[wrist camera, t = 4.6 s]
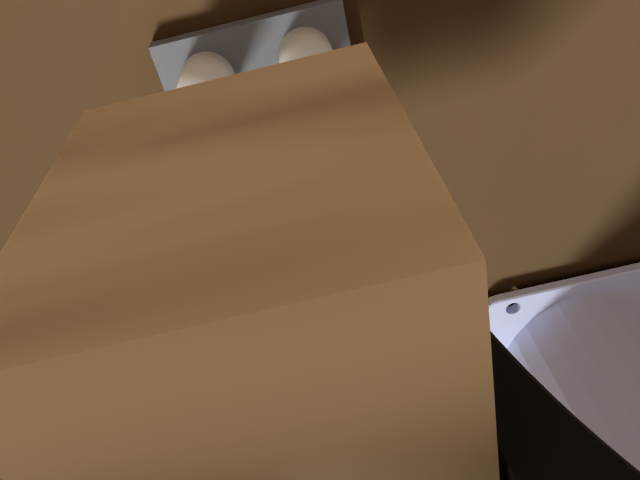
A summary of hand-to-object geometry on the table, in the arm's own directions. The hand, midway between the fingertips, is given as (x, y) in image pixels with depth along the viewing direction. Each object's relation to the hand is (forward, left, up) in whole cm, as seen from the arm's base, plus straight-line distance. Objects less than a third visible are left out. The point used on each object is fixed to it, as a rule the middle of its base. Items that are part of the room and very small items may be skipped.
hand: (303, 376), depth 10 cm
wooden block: (0, 0, -2) cm, 2 cm away
